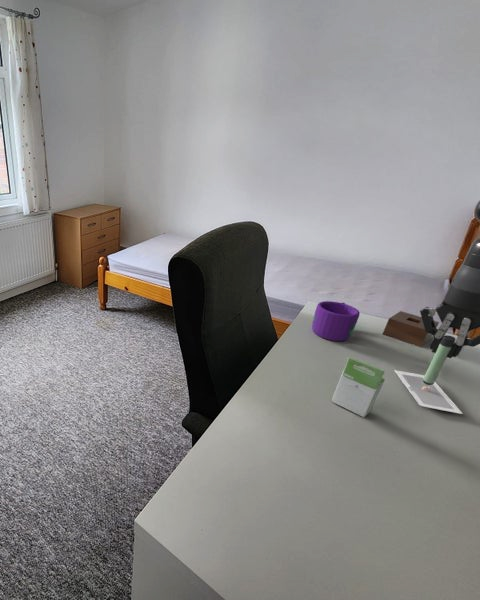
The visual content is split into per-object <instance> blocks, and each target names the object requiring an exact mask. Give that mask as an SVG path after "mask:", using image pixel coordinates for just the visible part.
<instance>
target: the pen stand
mask: <svg viewBox="0 0 480 600" xmlns="http://www.w3.org/2000/svg"><path fill="white" fill-rule="evenodd" d="M434 323H435V326H436V328H437V329H438V326H439V324H440V322H439V321H436V320H434ZM382 335H383V336H386V337H390V338H393V339H396V340H398V339H399V340H398V341H401V340H402V341H401V342H404V343H407V344H409V345H413V344H414V345H413V346H416V347H418V346H419V348H422V347H423V346H424V345H426V344H427V343H428V342H429V341H430V340H431V339H432V338H433V337H434V336H433V335H432V334H430V333H427V332H426V331H425V327H424V324H423V320H422V317H421V316H420V315H415V314H412V313H409V312H406V311H402V310H400V311H398V312H396V313H395V314H393V315H392V316H390V317H389V318H388V319H387V322H386V325H385V327H384V329H383V332H382ZM428 340H429V341H428ZM427 341H428V342H427ZM421 346H422V347H421Z"/></svg>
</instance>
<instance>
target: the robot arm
mask: <svg viewBox="0 0 480 600" xmlns="http://www.w3.org/2000/svg"><path fill="white" fill-rule="evenodd" d="M473 215H474V217H475V218H476V220H477V221H478V222H480V199H479V200H478V201H477V203H476V205H475V207H474V210H473ZM419 313H420V317H422V320H423V324H424V327H425V331H426V332H427V333H430V334H432V335H433V336H432V337H433V339H432V341H431V343H430V345H429V350H431V353H433V354H435V353H436V351H437V349H438V347H439V345H440V342H441V340H442V338H443V336H446V334H447V332H448V331H449V330H450V328H452V329H456V330H458V333H457V337H456V338H455V339H456V340H455V342H454V344H453V346H452V348H451V350H450V351H449V353H448V355H447V359H452V358H456V357H458V356H459V355H460V353H461V351H462V350H463V348H464V347H471V348H475V347H476V346H479V345H480V334H479V335H477V336H475V337H472V338H469V335H470V333H471V331H473V330H476V329H478V328H480V237H478V238H476V239H475V240H473V241H472V243H471V245H470V246H469V249H468V252H467V253H466V255H465V258H464V259H463V262H462V263H461V265H460V267H459V268H458V270H457V271H456V272H455V275H454V276H453V277H452V279H451V282H450V285H449V286H448V289H447V291H446V294H445V296H444V297H443V300H442V302H441V303H439V304H438V305H437V306H435V307H432V306H431V307H429V306H424V307H423V308H421V309H420V310H419ZM436 314H437V315H438V317H439V320H440V322H441V324H440V325H439V327H437V328H436V326H435V323H434V321H435V319H434V316H435V315H436Z"/></svg>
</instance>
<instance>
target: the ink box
mask: <svg viewBox="0 0 480 600" xmlns="http://www.w3.org/2000/svg"><path fill="white" fill-rule="evenodd" d="M360 367H362V368H365V369H367V370H369V371H371V372H369V371H367V370H364V369H362V368H360ZM372 372H373V373H372ZM384 374H385V370H383V369H380V368H378V367H375V366H372V365H370V364H368V363H365V362H362V361H359V360H357V359H354V358H351V357H348V358H347V360H346V364H345V367H344V369H343V370H342V372H341V375H340V377H339V381H338V383H337V385H336V388H335V391H334V392H333V396H332V399H331V403H334V404H336V405H338V406H339V407H342V408H344V409H346V410H348V411H350V412H352V413H354V414H355V415H358V416H359V417H362V418H365V417H366V416H367V415H368V414H370V412H371V410H372V409H373V406H374V404H375V401H376V399H377V398H378V396H379V393H380V391H381V389H382V386H383V384H384V382H385V380H386V379H385V378H383V376H384Z"/></svg>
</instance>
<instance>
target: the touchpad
mask: <svg viewBox="0 0 480 600" xmlns="http://www.w3.org/2000/svg"><path fill="white" fill-rule="evenodd" d="M394 372H395V374H396V375H397V377H398V378H399V379H400V381H401V382H402V384H404V386H405V387H406V389H407V390H408V391H409V393H410V394H411V395H412V397H413V399H414V400H415V401H416V403H417V404H418V405H419V406H420V407H423V408H428V409H429V408H430V409H435V410H439V411H445V412H450V413H454V414H460V415H464V413H463V412H462V411H461V410H460V408H459V407H458V406H457V405H456V404H455V403H454V402H453V401H452V399H451V398H450V397H449V396H448V395H447V394H446V393H445V391H444V390H443V389H442V388H441V386H439V384H438V383H437V382H436V381H435V382H434V384H433V385H426V384H425V383H424V382H423V378H424V376H425V374H420V373H419V374H418V373H413V372H407V371H402V370H396V369H395V370H394Z"/></svg>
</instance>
